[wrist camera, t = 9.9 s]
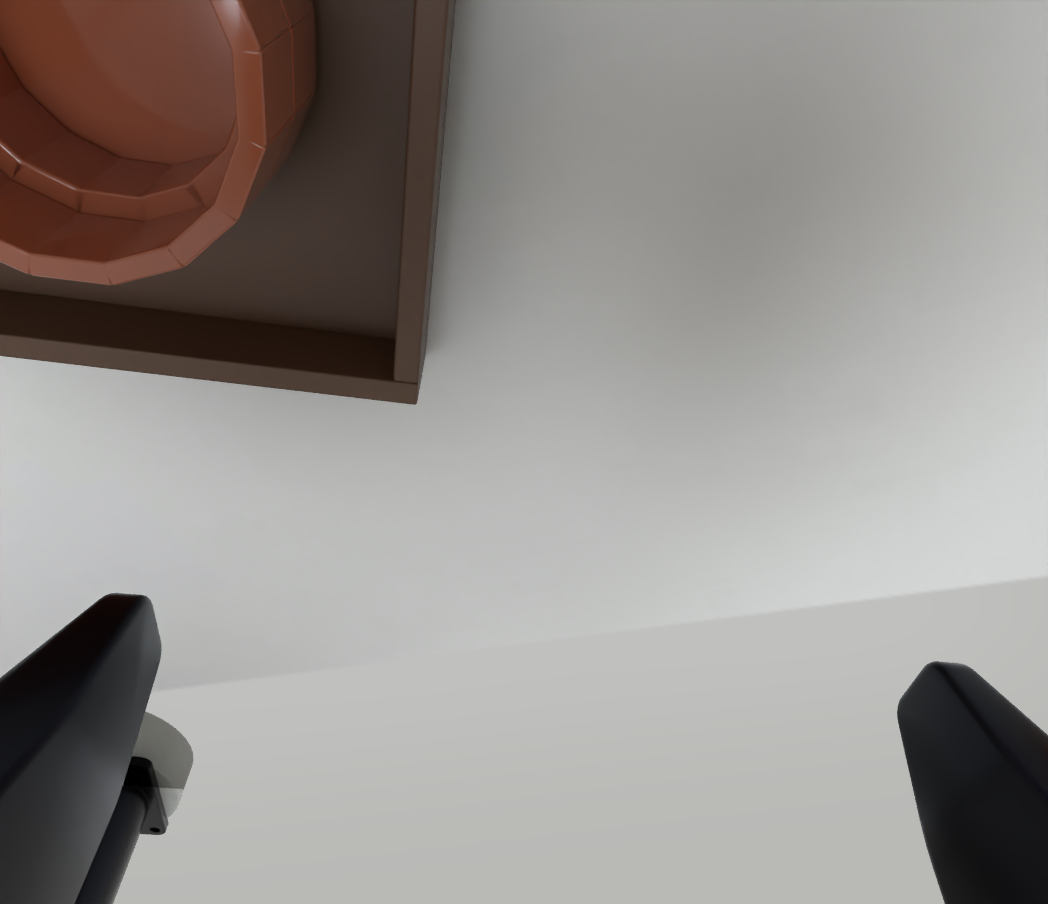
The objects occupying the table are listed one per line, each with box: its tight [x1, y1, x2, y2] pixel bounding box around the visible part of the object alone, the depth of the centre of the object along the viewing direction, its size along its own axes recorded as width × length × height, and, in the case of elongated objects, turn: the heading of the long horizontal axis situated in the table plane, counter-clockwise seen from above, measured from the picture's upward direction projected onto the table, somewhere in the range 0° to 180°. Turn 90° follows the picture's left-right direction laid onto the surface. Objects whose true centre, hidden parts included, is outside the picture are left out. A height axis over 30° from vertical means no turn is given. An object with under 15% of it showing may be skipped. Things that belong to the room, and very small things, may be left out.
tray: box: [0, 0, 455, 405], centre depth 14 cm, size 14×12×2 cm
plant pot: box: [0, 0, 316, 285], centre depth 13 cm, size 7×7×4 cm
